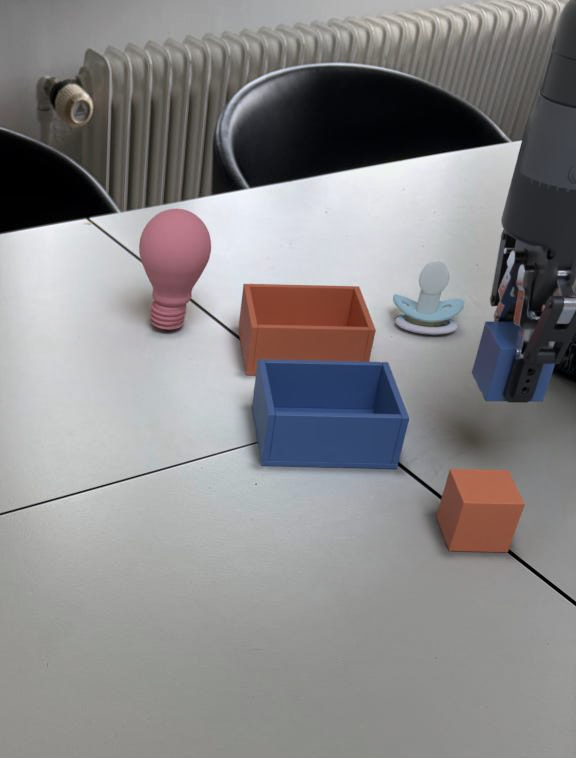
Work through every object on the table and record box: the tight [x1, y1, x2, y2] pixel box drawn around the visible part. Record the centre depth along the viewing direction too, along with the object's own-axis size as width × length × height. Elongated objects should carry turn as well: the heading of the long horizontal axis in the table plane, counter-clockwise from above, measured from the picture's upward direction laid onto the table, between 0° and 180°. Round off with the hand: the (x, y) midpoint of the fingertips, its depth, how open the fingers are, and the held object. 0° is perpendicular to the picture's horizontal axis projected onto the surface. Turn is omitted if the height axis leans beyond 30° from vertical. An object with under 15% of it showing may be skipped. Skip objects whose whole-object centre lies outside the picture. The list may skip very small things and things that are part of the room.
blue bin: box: [251, 359, 410, 470], centre depth 91 cm, size 12×10×5 cm
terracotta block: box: [435, 468, 526, 553], centre depth 81 cm, size 5×5×5 cm
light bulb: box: [138, 208, 212, 331], centre depth 105 cm, size 7×7×12 cm
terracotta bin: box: [237, 283, 377, 376], centre depth 103 cm, size 12×10×5 cm
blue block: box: [471, 320, 556, 403], centre depth 83 cm, size 5×5×5 cm
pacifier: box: [392, 261, 466, 336], centre depth 108 cm, size 7×6×6 cm
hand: (507, 382), depth 85 cm, fingers closed on blue block, 4 cm apart
